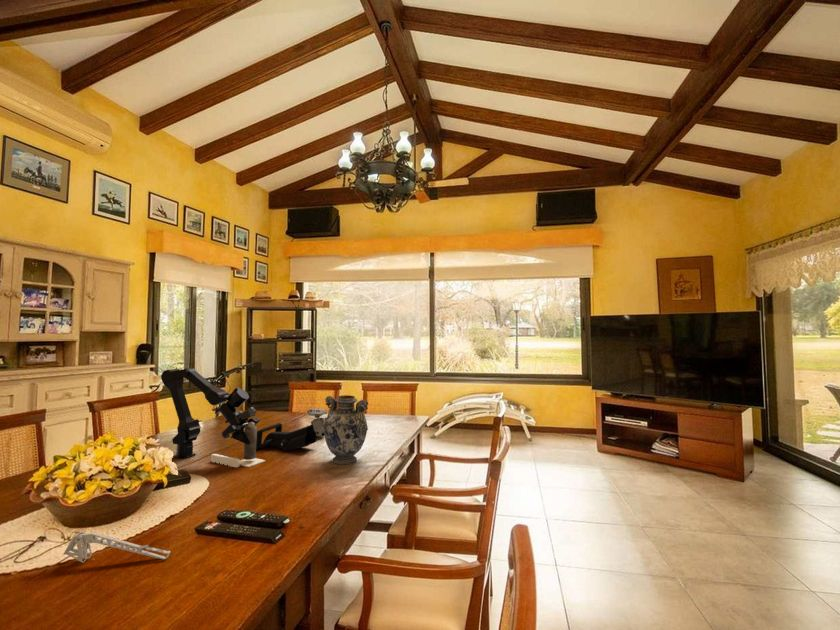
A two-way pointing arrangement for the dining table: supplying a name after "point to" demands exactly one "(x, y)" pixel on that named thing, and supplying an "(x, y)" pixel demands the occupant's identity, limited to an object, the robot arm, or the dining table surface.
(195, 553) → the dining table surface
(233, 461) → the low frosted rail
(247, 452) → the pepper mill
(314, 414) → the figurine
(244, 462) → the coaster
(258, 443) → the black looped hood device
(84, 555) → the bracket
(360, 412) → the decorative vase
